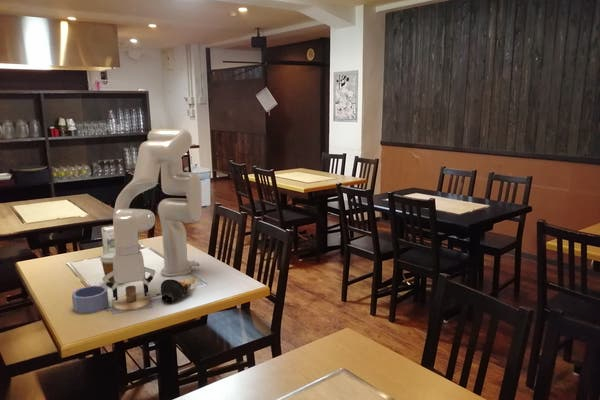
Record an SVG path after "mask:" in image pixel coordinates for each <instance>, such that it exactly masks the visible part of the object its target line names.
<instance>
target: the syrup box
mask: <svg viewBox="0 0 600 400" xmlns="http://www.w3.org/2000/svg"><path fill="white" fill-rule="evenodd" d="M101 238H102V239H101V241H102V250H103V251H102V252H103V253H102V254H104V253H107V252H113V251H116V249H115V238H114V226H113V225H108V226H102V227H101Z"/></svg>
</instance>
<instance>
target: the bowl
mask: <svg viewBox="0 0 600 400" xmlns="http://www.w3.org/2000/svg"><path fill="white" fill-rule="evenodd" d="M71 299H72V300H71V301H72V309H73V311H74V312H76V313H78V314H92V313H97V312H100V311H103V310H104V309H107V307H108V306H109V290H108V286H107V287H106V286H104V285H97V284H96V285H88V286H83V287H81V288H77V289H76V290H74V291H72V292H71Z"/></svg>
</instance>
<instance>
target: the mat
mask: <svg viewBox="0 0 600 400" xmlns="http://www.w3.org/2000/svg"><path fill="white" fill-rule="evenodd" d="M147 296H148V297H149V298H150V302H149V304H148V305H147V306H145V307H143V308H140V309H137V310H131V311H120V310H116V309H115V308H114V307H113V302H114V301H115V300H116V299H115V298H112V299H111V314H112V315H116V314H123V313H129V312H130V313H131V312H134V311H135V312H136V311H142V310H147V309H148V310H149V309H153V308H154V307H153V302H152V299H151V298H152V297H151V294H150V293H147Z"/></svg>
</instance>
